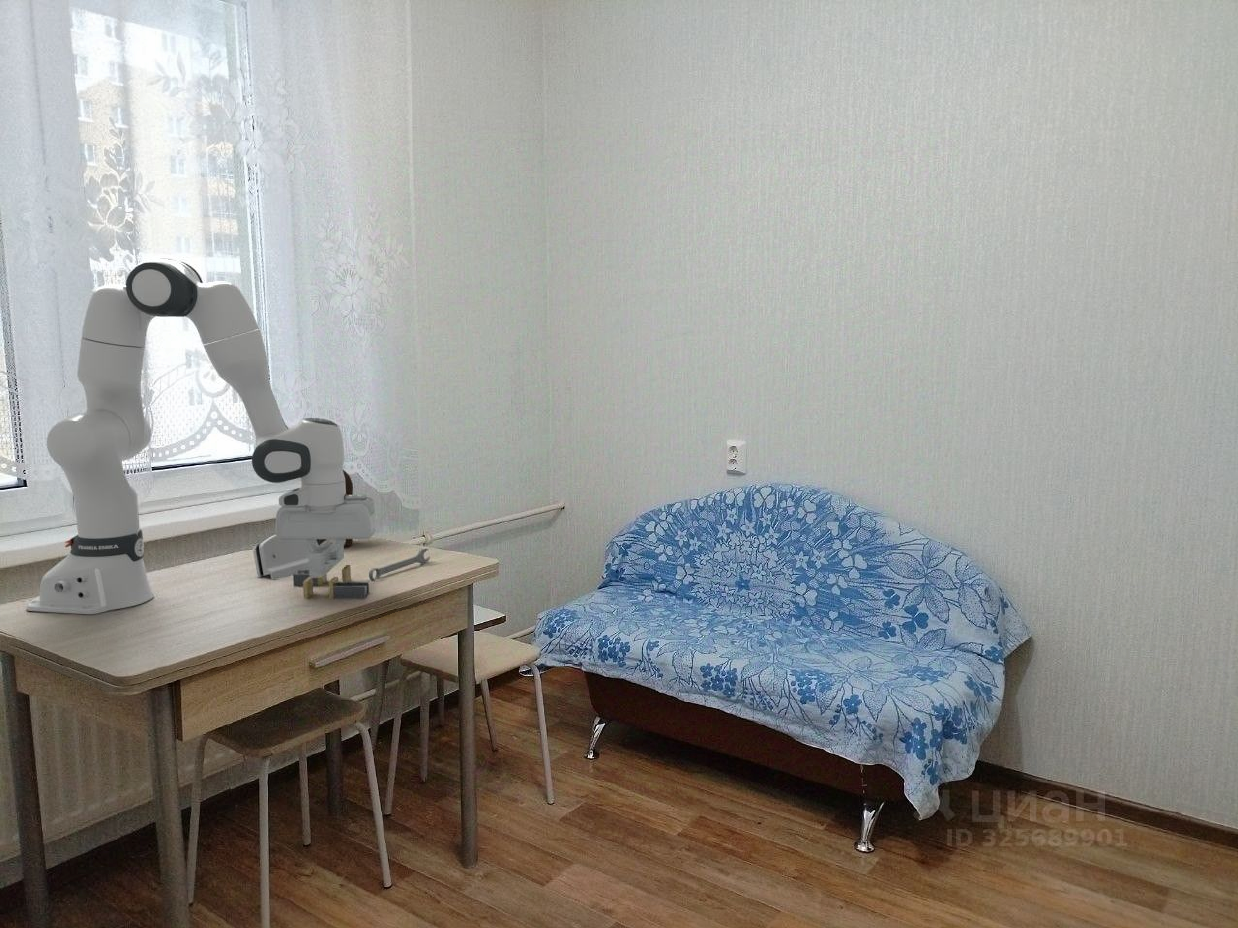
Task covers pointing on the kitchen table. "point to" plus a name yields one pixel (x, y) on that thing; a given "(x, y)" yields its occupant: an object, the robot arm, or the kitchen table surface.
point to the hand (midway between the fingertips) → (327, 559)
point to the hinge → (281, 557)
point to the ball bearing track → (332, 585)
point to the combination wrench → (399, 565)
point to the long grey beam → (323, 558)
